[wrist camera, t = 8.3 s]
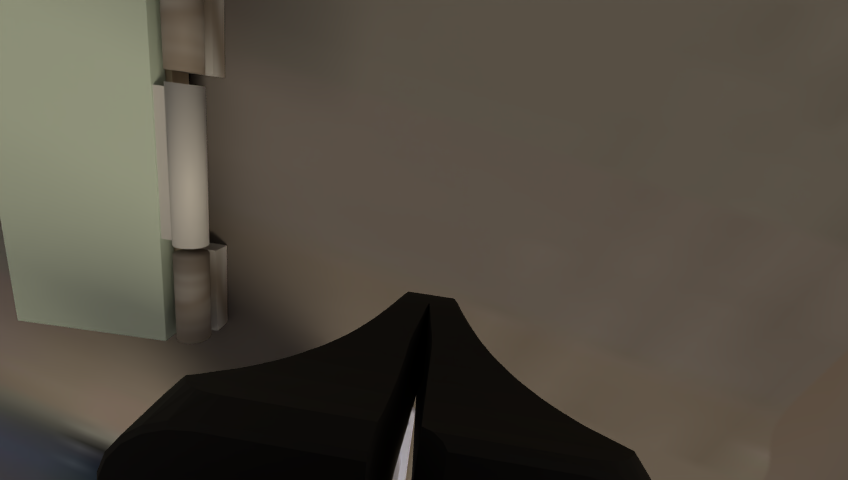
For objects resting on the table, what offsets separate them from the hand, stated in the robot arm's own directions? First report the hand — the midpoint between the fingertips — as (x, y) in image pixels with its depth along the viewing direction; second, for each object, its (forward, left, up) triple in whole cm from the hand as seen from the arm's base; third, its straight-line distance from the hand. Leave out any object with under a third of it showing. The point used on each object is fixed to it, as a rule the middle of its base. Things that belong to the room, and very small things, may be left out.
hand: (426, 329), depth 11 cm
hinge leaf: (+2, +16, -9) cm, 19 cm away
